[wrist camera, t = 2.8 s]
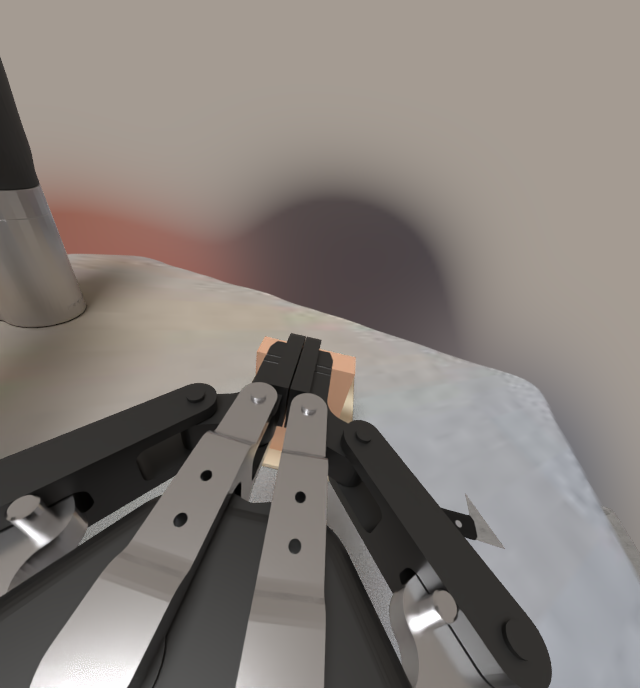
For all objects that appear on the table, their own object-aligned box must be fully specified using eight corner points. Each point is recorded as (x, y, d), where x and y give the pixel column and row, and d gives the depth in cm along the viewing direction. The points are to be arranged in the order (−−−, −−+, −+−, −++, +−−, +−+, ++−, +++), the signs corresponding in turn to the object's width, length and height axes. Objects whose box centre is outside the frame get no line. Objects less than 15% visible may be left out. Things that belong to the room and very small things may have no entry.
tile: (323, 460, 29) (355, 374, 21) (251, 444, 29) (257, 351, 21) (326, 440, 31) (355, 355, 23) (259, 425, 31) (266, 334, 23)
